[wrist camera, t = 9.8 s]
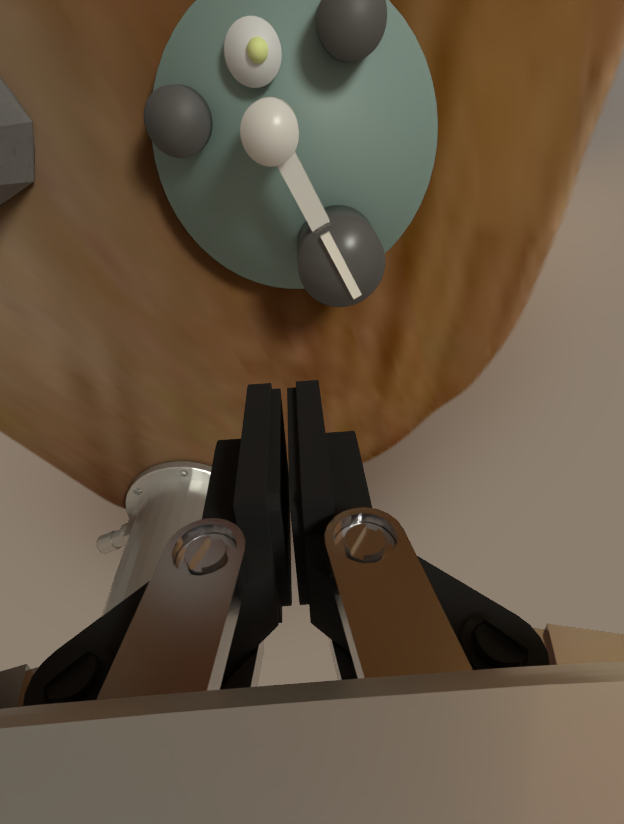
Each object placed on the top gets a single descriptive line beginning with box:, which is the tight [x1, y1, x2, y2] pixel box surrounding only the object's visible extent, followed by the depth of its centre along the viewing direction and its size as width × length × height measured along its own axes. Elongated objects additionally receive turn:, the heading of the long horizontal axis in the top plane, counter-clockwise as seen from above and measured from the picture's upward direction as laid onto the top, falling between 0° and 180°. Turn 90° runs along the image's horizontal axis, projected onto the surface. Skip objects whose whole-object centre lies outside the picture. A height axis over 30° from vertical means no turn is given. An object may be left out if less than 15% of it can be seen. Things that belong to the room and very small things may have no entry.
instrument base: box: [144, 0, 438, 289], centre depth 29 cm, size 18×18×4 cm
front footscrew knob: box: [240, 96, 385, 307], centre depth 29 cm, size 13×6×6 cm, turn 29°
